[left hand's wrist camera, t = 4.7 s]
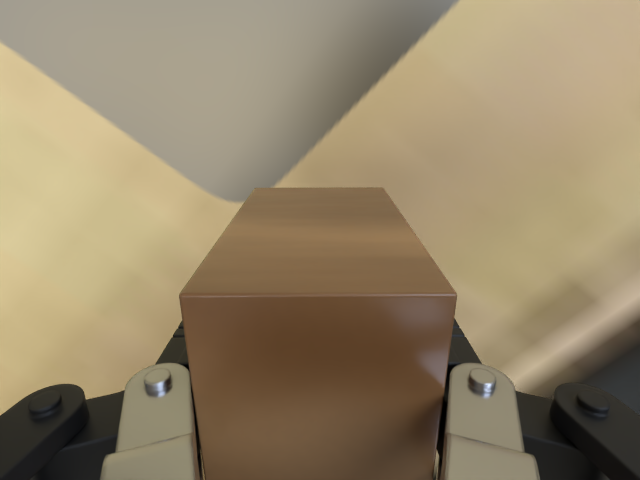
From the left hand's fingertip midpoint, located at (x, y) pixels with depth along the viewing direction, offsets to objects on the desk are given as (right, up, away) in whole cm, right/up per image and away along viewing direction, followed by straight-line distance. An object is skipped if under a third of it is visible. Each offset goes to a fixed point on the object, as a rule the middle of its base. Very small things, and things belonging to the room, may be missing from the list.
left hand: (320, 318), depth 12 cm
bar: (0, -7, +7) cm, 10 cm away
